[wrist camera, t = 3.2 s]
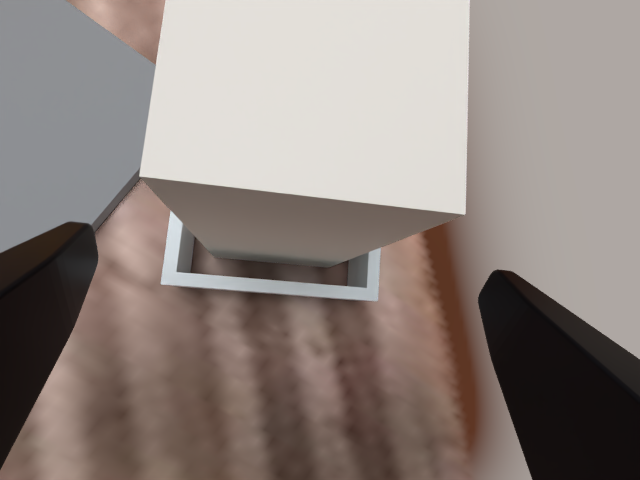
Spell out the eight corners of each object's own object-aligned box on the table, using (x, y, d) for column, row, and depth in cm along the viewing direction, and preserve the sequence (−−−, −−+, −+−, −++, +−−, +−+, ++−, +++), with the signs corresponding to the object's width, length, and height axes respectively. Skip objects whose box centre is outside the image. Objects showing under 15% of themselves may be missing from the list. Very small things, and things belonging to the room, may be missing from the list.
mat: (30, 308, 17) (19, 308, 16) (-218, 143, 17) (-241, 136, 16) (202, 105, 20) (199, 97, 19) (-7, -45, 19) (-18, -60, 18)
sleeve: (356, 300, 20) (377, 301, 16) (177, 286, 18) (160, 284, 15) (365, 137, 21) (388, 107, 18) (199, 114, 20) (189, 75, 16)
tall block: (328, 267, 20) (465, 214, 7) (214, 257, 19) (139, 176, 6) (335, 161, 21) (470, -56, 8) (227, 147, 20) (183, -122, 7)
